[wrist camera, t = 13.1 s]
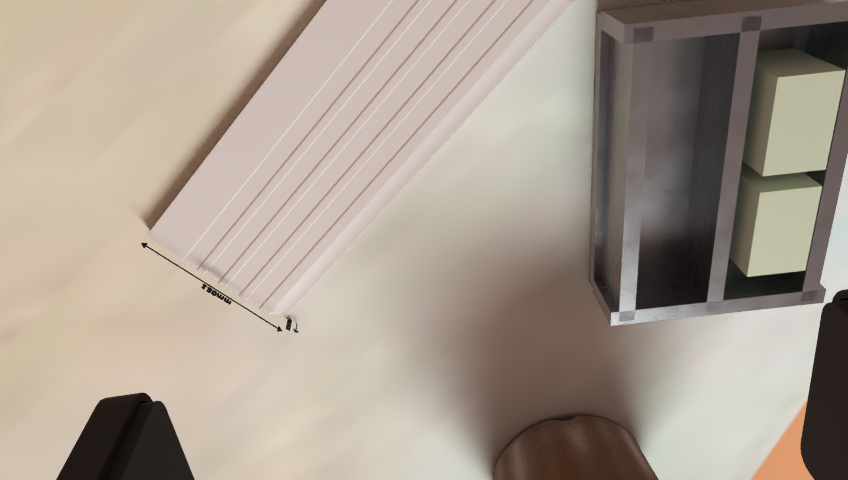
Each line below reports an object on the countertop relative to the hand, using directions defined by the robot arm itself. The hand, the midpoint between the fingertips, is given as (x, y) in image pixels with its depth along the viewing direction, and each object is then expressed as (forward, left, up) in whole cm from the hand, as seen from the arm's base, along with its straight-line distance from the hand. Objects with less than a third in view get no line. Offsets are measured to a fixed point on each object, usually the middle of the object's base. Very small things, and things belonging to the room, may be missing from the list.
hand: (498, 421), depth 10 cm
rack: (+10, +17, -32) cm, 38 cm away
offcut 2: (+13, +20, -31) cm, 40 cm away
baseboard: (+5, -3, -33) cm, 34 cm away
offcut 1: (+7, +20, -31) cm, 38 cm away
